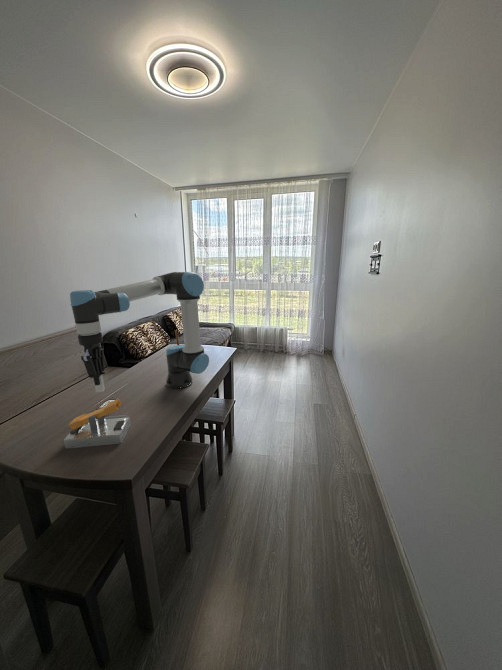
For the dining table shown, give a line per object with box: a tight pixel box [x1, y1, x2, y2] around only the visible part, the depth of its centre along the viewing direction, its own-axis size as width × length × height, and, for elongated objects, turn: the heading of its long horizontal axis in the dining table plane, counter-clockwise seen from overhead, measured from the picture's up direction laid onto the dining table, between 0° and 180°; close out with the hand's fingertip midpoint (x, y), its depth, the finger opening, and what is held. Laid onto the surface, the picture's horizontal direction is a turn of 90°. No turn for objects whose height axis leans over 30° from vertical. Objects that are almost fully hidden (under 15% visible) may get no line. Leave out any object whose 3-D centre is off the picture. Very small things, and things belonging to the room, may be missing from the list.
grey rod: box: [97, 414, 129, 420], centre depth 113 cm, size 15×2×2 cm, turn 98°
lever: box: [68, 398, 123, 431], centre depth 101 cm, size 19×5×3 cm, turn 99°
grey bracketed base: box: [63, 406, 132, 450], centre depth 102 cm, size 20×12×11 cm, turn 98°
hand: (100, 391), depth 99 cm, fingers closed
